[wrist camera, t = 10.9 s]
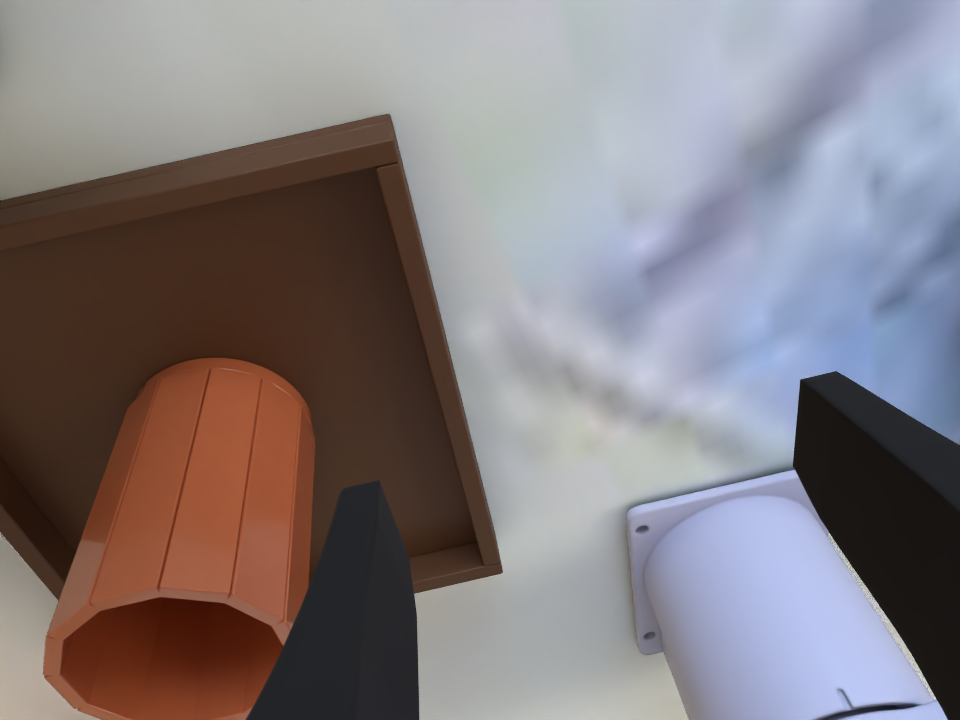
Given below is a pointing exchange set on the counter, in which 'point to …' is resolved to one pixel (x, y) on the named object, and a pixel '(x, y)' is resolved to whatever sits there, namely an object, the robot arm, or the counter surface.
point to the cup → (190, 549)
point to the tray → (237, 335)
